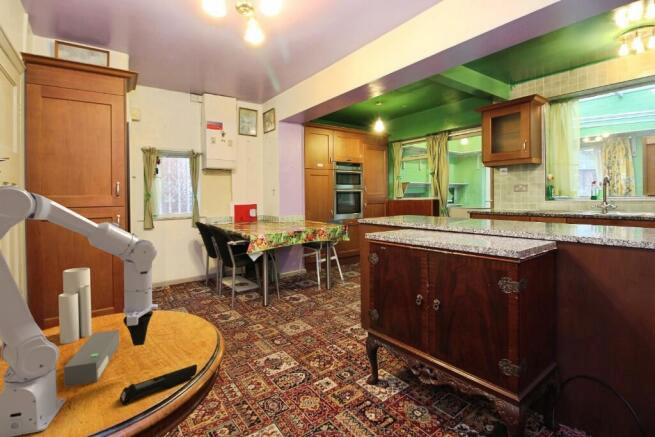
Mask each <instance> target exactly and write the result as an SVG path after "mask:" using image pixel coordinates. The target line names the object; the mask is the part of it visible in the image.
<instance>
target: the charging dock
mask: <svg viewBox="0 0 655 437" xmlns="http://www.w3.org/2000/svg"><path fill="white" fill-rule="evenodd" d="M119 346H120V330H119V329H114V330H105V331H104V330H103V331H97V332H93V333H91V336H89V338H88V339H87V340H86V341H85V342H84V344H83V345H82V346H81V347H80V348H79V349H78V350H77V352H76V353H75V354H74V355H73V356H72V357H71V358H70V360H69V361H68V362H67V363H66V364H65V366H64V367H63V373H64V374H63V375H64V376H63V377H64V381H63V382H64V387H65V388H67V387H72V386H78V385H85V384H92V383H98V380H99V379H100V377H101V376H102V374H103V373H104V371H105V369H106V367H107V366H108V364H109V362H110V361H111V359H112V358H113V356H114V354H115V352H116V351H117V349H118V348H119Z"/></svg>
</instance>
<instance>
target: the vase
mask: <svg viewBox="0 0 655 437" xmlns="http://www.w3.org/2000/svg"><path fill="white" fill-rule="evenodd" d="M62 283H63V284H62V286H63V287H62V288H63V290H62V291H63V293H61V294H58V318H59V319H58V321H59V322H58V324H59V325H58V327H59V343H60V344H62V345H66V344H71V343H75V342H77V341H79V340H80V338H88V337H89V338H90V337H91V335H92V303H91V302H92V301H91V300H92V298H91V297H92V296H91V269H90V268H89V267H78V268H77V267H76V268H69V269H64V270H63V271H62Z"/></svg>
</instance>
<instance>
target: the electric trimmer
mask: <svg viewBox="0 0 655 437" xmlns="http://www.w3.org/2000/svg"><path fill="white" fill-rule="evenodd" d="M197 369H198V364H192V365H190V366H187V367H183V368H180V369H178V370H174V371H170V372H167V373H164V374H163V375H160V376H156V377H153V378H150V379H146V380H144V381H141V382H137V383H130V385H129V386H125V387H124V388H123V390H122V391H121V394H120V396H119V400H120V404H121V405H122V406H123V405H124V406H125V405H129V404H130V403H131V402H132V401H133V400H135V399H139V398H141V397H143V396H146V395H149V394H151V393H154V392H157V391H158V390H162V389H170V388H172V387H174V386H176V385H178V384H180V383H183V382H185V381H187V380H188V379H190V378H192V377H195V376H196V374H197V371H198V370H197Z"/></svg>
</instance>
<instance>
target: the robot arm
mask: <svg viewBox="0 0 655 437" xmlns="http://www.w3.org/2000/svg"><path fill="white" fill-rule="evenodd" d="M26 219H28V220H43V221H44V220H46V221H48V222H50V223H52V224H55V225H58V226H60V227H63V228H65V229H67V230H70V231H72V232H75V233H78V234H81V235H82V236H84V237H86V238H87V240H88V243H89V245H90V246H91V247H92V246H93V247H95V248H97V249H99V250H102V251H104V252H106V253H108V254H112V256H113V255H114V256H116V257H118V258H119V259H120V260H121V261H123V280H124V282H123V284H124V285H123V286H124V288H123V290H124V308H123V314H124V315H125V316H124V318H123V324H124V325H125V327H126V329H128V331H129V332H128V333H129V336H130V337H131V341H132V345H133V346H134V347H138V346H143V345H145V343H146V342H145V341H146V338H147V332H148V328H149V324H150V321H151V318H152V316H153V314H154V311H153V310H156V309H158V306H159V305H158V303H153V277H152V276H153V275H152V274H153V272H152V271H153V269H152V268H153V261H154V260H155V258H156V257H157V254H158V250H156V248H155V246H154V245H153V243H152V242H151V241H149V240H146V239H140V238H138V236H139V235H138V234H137V233H134V232H132V233H130V232H128V231H126V230H124V229H122V228H120V225H119V224H118V223H116V222H111V223H110V222H108V221H104V222H100V223H96V222H94V221H92V220H90V219H88V218H86V217H84V216H83V215H81V214H79V213H77V212H75V211H73V210H71V209H70V208H67V207H65V206H64V205H61V204H60V203H58V202H55V201H54V200H52V199H49V198H47V197H45V196H42V195H41V194H37V193H34V192H28V191H27V190H26V189H24V188H22V187H19V186H16V185H0V241H2V240H3V238H4V237H5V236H6V235H7V233H8V232H9V231H10V229H11V228H13V227H14V226H16V225H17V224H20V223H21V222H23V221H24V220H26ZM38 325H39V324H37V323H36V320H35V319H34V317H33V315H32V313H31V311H30V308H29V306H28V305H27V302H26V300H25V298H24V296H23V294H22V292H21V290H20V288H19V285H18V283H17V281H16V280H15V277H14V275H13V273H12V271H11V269H10V267H9V265H8V263H7V261H6V259H5V257H4V254H3V253H2V250H1V249H0V340H1V344H2V346H1V350H0V356H1V358H2V360H3V361H4V362H5V363H6V364H8V367H7V368H6V370H5V373H4V374H3V388H2V391H1V393H0V437H18V436H23V435H28V434H32V433H37V432H41V431H45V430H46V429H47V428H48V427H49V425H50V423H52V421H53V420H54V418H55V416H56V415H57V414H58V412H59V411H60V409H61V408H62V407H63V405H64V404H65V403H66V401H67V398H65V397H64V398H63V397H62V398H58V393H57V392H58V390H57V362H58V360H59V358H60V349H59V347H58V345H56V344H55V343H53V342H51V341H49V340H48V339H47V337H46V336H45V334H44V332H43V330H42V329H41V328H40V326H38ZM22 434H23V435H22Z"/></svg>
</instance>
